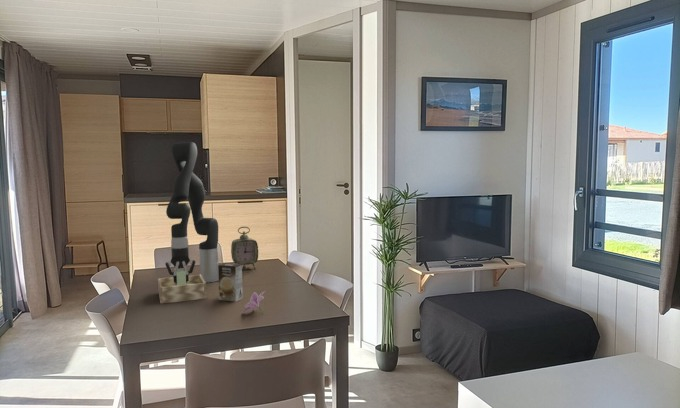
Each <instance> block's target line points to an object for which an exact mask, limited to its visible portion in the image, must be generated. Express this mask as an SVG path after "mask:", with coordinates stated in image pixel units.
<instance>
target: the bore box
mask: <svg viewBox="0 0 680 408" xmlns="http://www.w3.org/2000/svg"><path fill="white" fill-rule="evenodd" d="M188 276H189V281H187V283H186V285H179V286H177V284H175V283H174V278H173V276H172V277H170V276H169V277H162V278H157V285H158V286H157V287H158V288H157V289H158V296H159V297H158V298H159V302H160V304H166V303H168V304H169V303H177V302H186V301H187V302H188V301H196V300H204V299H207V298H208V297H207V294H208V293H207V282H205V281H204V279H203V277H202V276H201V275H200V274H196V275H195V274H194V275H193V274H192V275H188Z"/></svg>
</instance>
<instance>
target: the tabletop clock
mask: <svg viewBox="0 0 680 408" xmlns="http://www.w3.org/2000/svg"><path fill="white" fill-rule="evenodd" d="M240 229H247V230H248V231H242V232H240ZM250 232H251V230H250V227H248V226H240V227H238V229H237V233H239V234H241V235H239V238H236V239H234V240H231V241H232V242H231V245H230V254H231V255H230V256H231V260H232V261H233V262H232V263H237V264H242V269H244V268H245V269H246V265H252V267H253V269H254V270H256V269H257V266H255V263H257V262H258V260H259V245H258V242H257V240H255V239H253V238H251V237H249V236H248V234H249V233H250Z"/></svg>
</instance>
